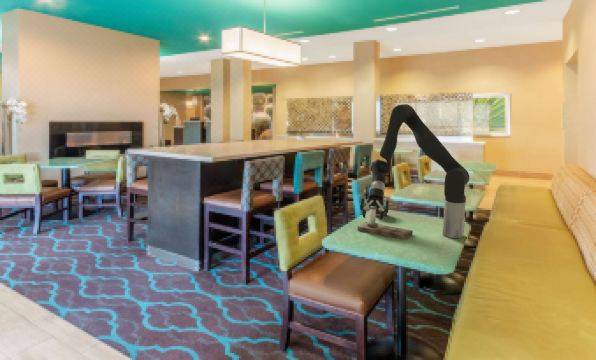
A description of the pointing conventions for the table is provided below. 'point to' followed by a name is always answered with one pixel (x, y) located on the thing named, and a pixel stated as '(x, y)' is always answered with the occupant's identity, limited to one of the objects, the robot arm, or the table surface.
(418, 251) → the table surface
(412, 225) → the table surface
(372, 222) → the fader
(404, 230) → the brown wooden board
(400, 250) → the table surface
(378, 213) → the potted plant
